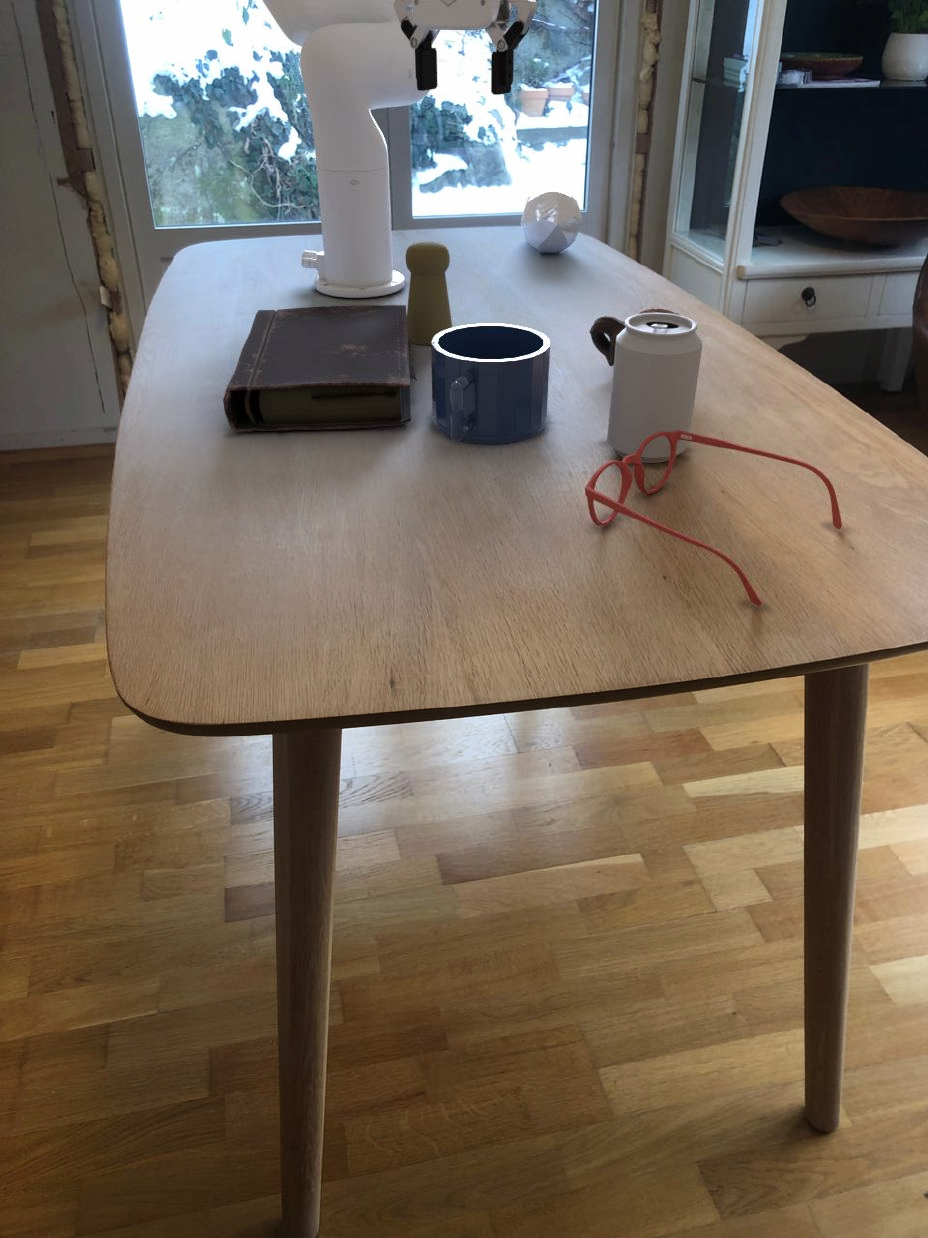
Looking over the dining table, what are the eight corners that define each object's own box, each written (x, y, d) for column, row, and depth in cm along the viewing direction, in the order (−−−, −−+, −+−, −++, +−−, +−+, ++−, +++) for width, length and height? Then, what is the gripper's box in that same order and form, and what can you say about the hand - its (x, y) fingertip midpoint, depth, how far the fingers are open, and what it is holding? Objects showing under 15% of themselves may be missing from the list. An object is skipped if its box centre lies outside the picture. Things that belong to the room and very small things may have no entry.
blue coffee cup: (458, 394, 101) (457, 318, 96) (560, 409, 97) (564, 330, 93) (399, 448, 89) (395, 364, 85) (512, 467, 86) (515, 381, 81)
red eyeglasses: (672, 468, 86) (679, 416, 83) (847, 523, 77) (861, 466, 74) (561, 542, 75) (565, 484, 72) (752, 615, 66) (764, 553, 63)
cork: (456, 330, 119) (456, 237, 112) (451, 345, 114) (450, 249, 107) (408, 328, 119) (405, 235, 113) (401, 344, 114) (397, 248, 108)
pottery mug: (692, 368, 109) (715, 316, 101) (668, 429, 105) (690, 380, 97) (593, 331, 110) (609, 277, 102) (566, 390, 106) (580, 339, 98)
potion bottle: (548, 270, 148) (530, 258, 161) (600, 229, 146) (577, 220, 159) (514, 218, 144) (498, 210, 157) (567, 175, 142) (546, 171, 155)
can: (692, 439, 91) (710, 312, 84) (680, 471, 85) (699, 338, 78) (614, 429, 93) (626, 304, 86) (598, 460, 87) (609, 329, 80)
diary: (226, 434, 92) (218, 384, 89) (256, 350, 112) (250, 307, 110) (419, 429, 93) (418, 379, 90) (414, 346, 113) (412, 303, 111)
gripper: (371, -101, 97) (380, 90, 107) (518, -109, 90) (514, 98, 99) (413, -97, 103) (418, 85, 112) (555, -104, 95) (548, 92, 104)
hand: (463, 91), depth 106 cm, fingers open, 9 cm apart
